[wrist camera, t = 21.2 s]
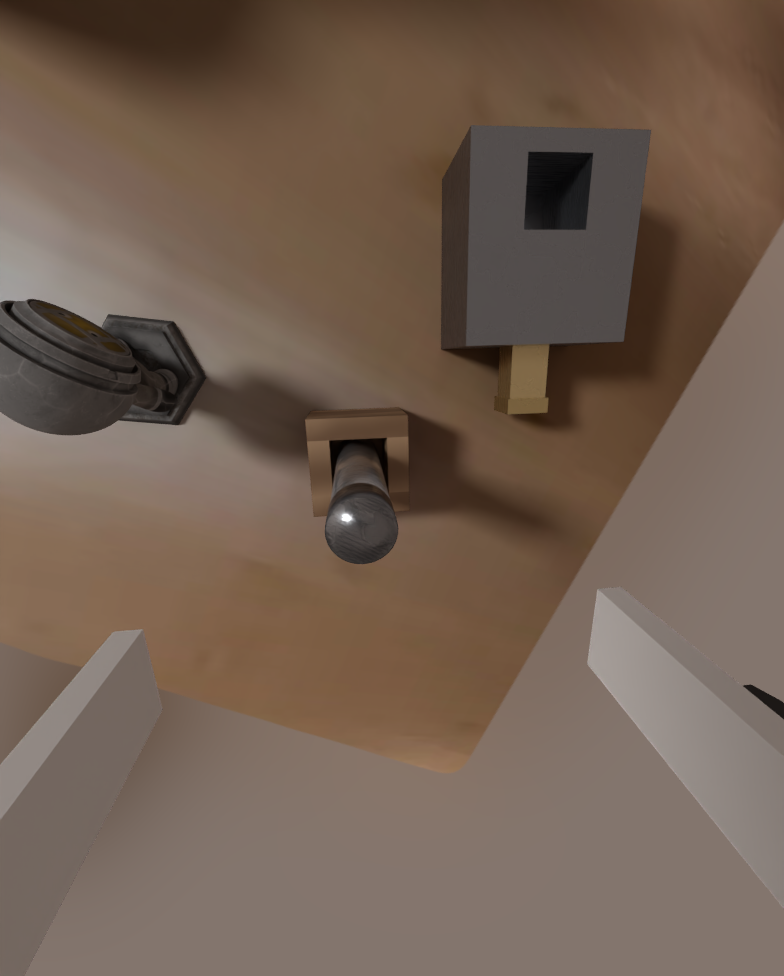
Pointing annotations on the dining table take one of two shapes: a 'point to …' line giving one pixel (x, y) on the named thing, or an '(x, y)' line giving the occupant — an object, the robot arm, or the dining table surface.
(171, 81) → the dining table surface
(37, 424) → the figurine
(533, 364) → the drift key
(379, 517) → the steel round rod
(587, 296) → the socket
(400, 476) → the open box
